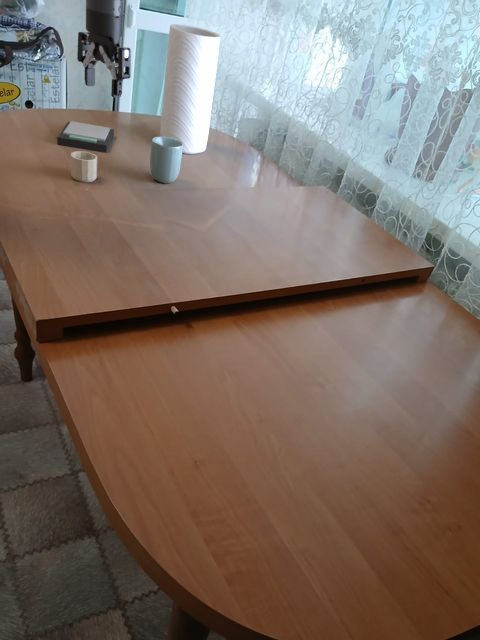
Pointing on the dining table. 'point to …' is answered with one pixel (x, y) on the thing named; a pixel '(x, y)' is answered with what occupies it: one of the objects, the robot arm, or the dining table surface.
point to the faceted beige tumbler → (83, 166)
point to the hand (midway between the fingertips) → (103, 91)
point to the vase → (189, 86)
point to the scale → (86, 136)
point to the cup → (165, 158)
